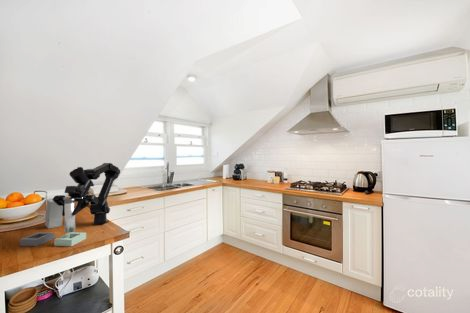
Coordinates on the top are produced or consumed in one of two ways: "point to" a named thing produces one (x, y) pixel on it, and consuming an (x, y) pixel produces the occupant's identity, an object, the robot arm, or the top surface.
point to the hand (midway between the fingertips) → (67, 215)
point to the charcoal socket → (36, 239)
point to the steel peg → (69, 215)
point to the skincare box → (53, 214)
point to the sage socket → (69, 239)
